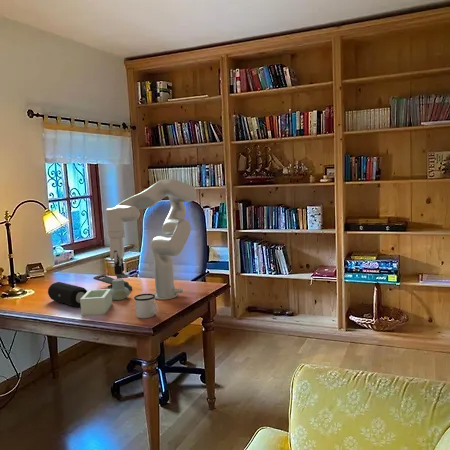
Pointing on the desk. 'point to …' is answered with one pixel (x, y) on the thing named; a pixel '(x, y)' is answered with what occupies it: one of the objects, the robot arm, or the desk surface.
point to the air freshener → (119, 290)
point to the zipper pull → (109, 281)
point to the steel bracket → (123, 275)
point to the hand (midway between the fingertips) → (119, 272)
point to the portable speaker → (66, 293)
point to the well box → (96, 302)
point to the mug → (145, 305)
